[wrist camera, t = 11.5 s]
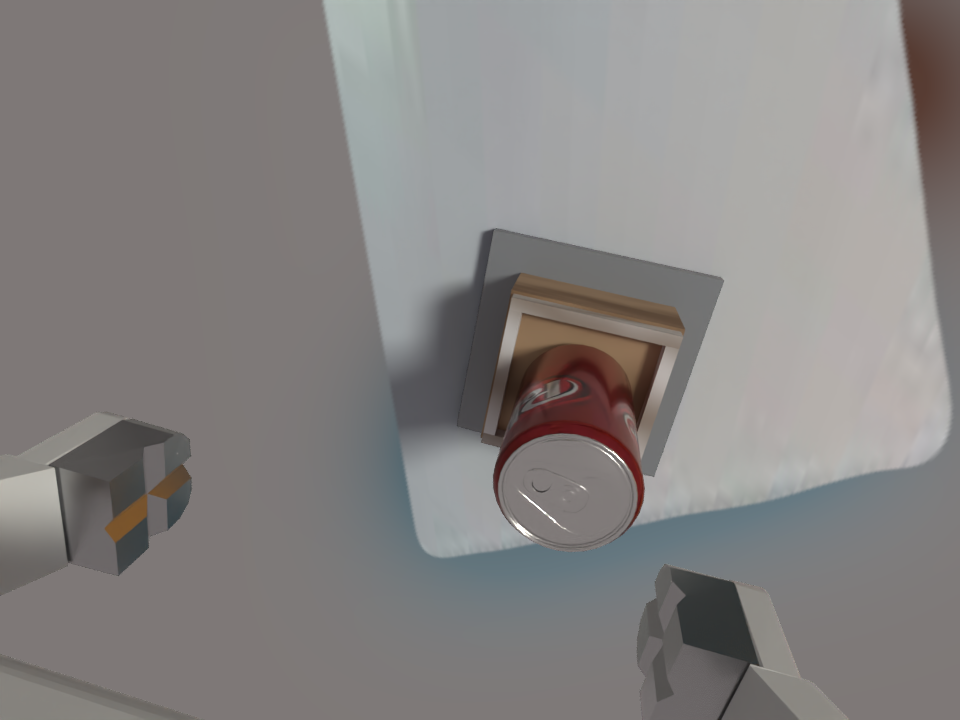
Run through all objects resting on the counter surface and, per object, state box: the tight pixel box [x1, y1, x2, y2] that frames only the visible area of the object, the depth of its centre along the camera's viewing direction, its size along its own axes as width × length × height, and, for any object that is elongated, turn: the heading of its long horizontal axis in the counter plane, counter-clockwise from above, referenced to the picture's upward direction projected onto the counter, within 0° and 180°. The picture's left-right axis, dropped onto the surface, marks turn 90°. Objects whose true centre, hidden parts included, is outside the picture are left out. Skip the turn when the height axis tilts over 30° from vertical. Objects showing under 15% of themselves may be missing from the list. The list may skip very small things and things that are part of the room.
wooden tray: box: [481, 273, 685, 459], centre depth 40 cm, size 11×11×6 cm
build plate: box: [457, 228, 724, 477], centre depth 43 cm, size 16×16×1 cm
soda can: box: [493, 344, 645, 552], centre depth 33 cm, size 7×7×12 cm
